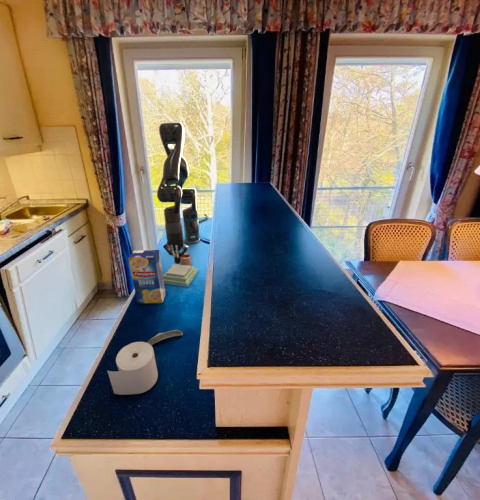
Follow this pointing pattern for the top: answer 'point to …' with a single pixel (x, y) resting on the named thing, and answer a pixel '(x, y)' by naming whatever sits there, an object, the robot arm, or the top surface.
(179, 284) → the light green stepped block
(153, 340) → the ceramic fragment
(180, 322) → the top surface
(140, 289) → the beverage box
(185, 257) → the terracotta cup
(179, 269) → the beige square slab
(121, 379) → the toilet tissue
